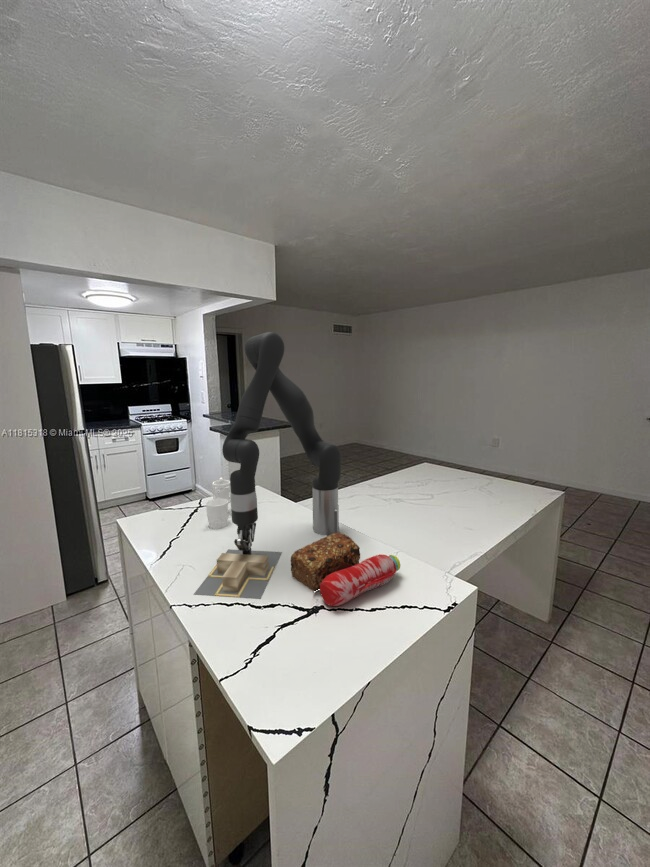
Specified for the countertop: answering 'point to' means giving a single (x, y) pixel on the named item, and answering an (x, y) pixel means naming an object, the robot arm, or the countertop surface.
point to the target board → (249, 587)
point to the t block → (240, 568)
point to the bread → (323, 559)
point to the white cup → (217, 513)
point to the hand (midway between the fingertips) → (247, 559)
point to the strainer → (222, 490)
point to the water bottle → (357, 578)
